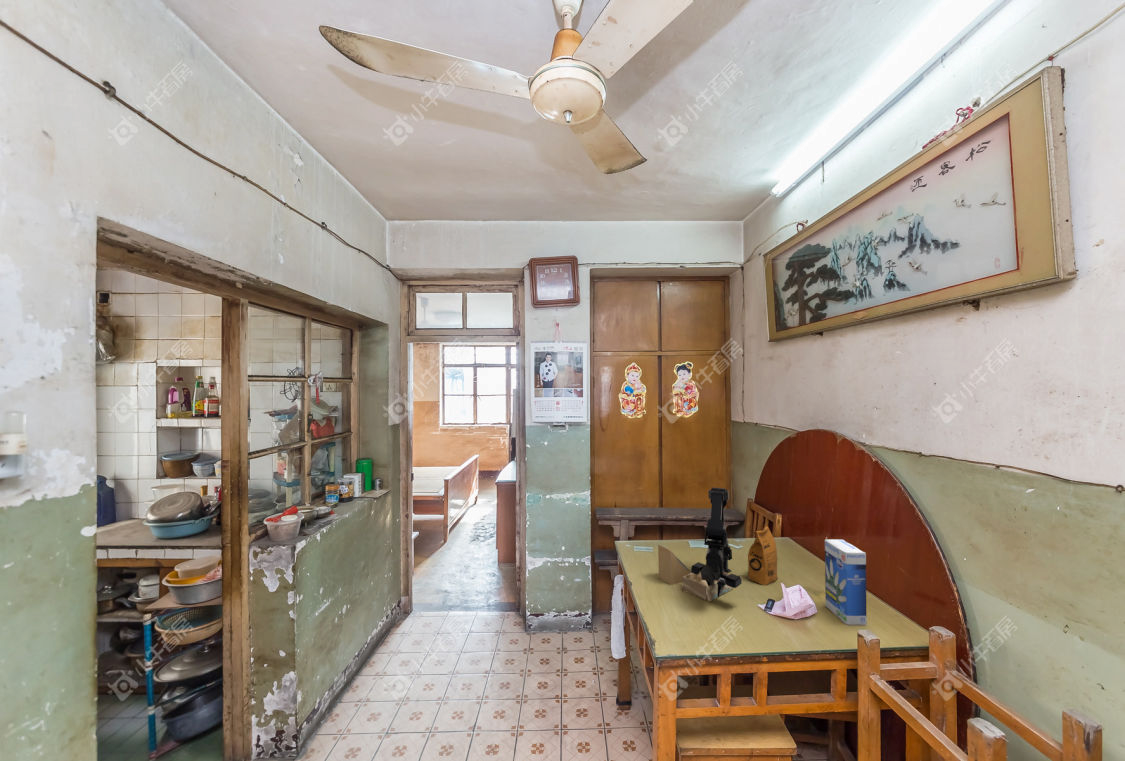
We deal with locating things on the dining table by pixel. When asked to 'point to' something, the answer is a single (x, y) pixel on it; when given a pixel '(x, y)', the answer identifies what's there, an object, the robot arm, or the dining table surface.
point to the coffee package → (763, 558)
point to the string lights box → (845, 581)
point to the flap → (713, 590)
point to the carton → (696, 585)
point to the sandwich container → (670, 566)
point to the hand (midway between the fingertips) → (715, 595)
